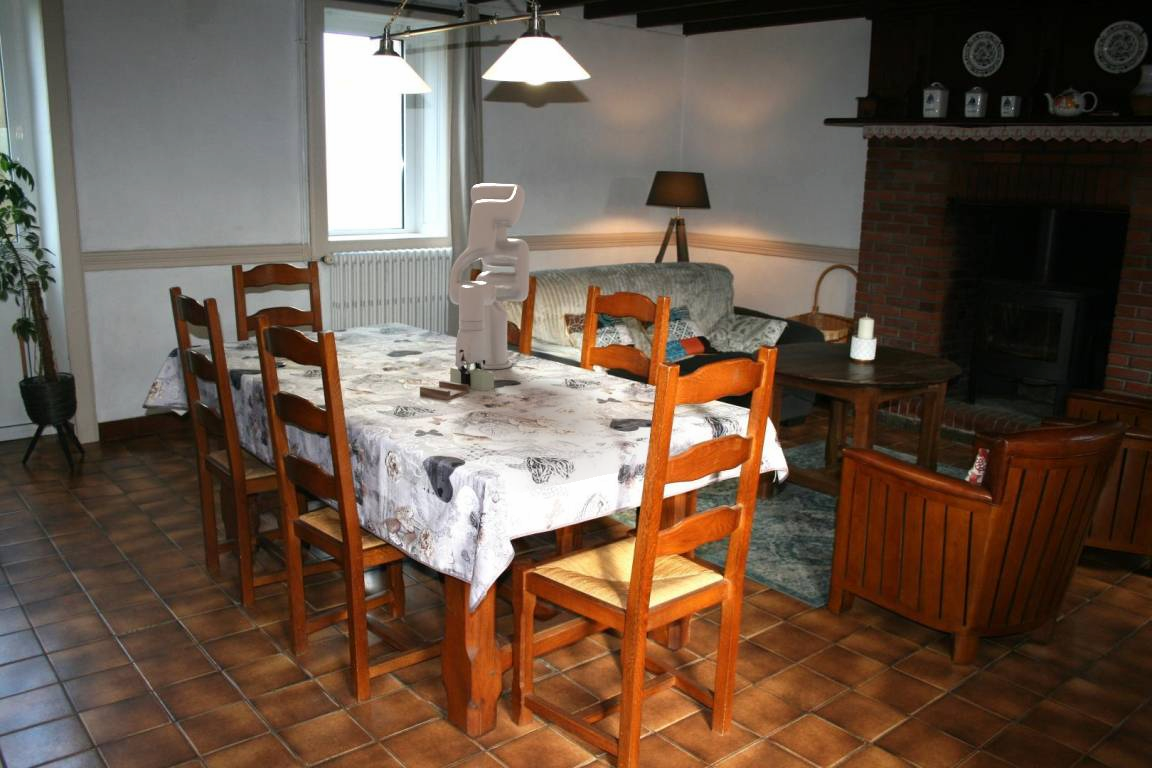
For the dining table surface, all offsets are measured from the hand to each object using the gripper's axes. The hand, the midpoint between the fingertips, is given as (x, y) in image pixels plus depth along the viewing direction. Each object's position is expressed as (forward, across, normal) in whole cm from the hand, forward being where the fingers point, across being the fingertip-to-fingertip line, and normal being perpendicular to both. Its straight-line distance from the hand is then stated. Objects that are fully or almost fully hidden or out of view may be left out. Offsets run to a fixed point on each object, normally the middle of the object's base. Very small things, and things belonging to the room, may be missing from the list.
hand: (471, 383), depth 302 cm
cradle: (+1, +13, 0) cm, 13 cm away
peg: (+1, 0, 0) cm, 1 cm away
